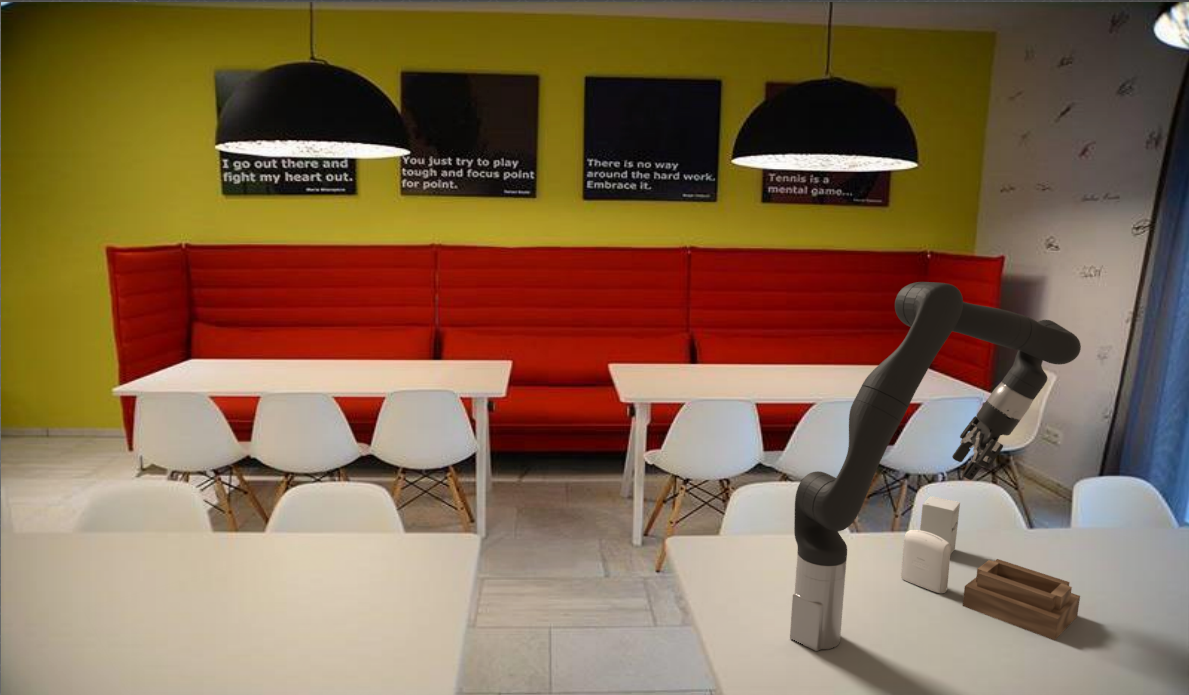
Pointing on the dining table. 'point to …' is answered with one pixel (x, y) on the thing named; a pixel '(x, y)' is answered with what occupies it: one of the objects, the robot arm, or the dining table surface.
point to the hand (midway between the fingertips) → (961, 468)
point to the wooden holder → (1022, 598)
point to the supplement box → (941, 519)
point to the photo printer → (926, 560)
